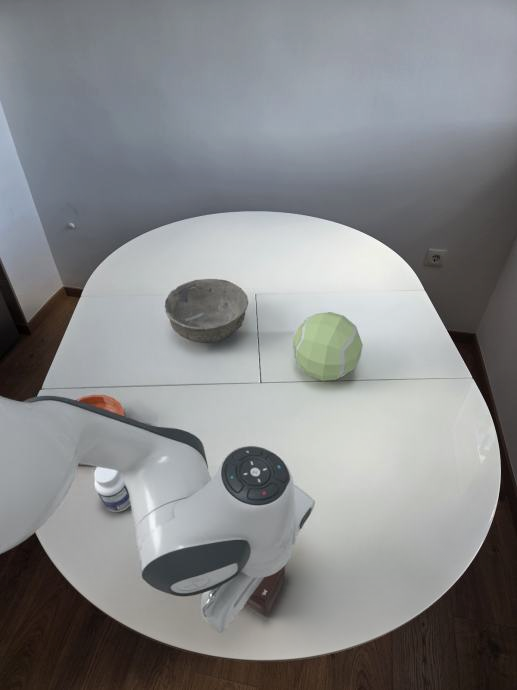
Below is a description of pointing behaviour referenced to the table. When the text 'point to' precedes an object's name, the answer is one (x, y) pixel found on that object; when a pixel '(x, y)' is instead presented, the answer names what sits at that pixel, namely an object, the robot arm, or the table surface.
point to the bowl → (206, 309)
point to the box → (267, 592)
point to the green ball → (327, 346)
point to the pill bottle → (111, 489)
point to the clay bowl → (103, 404)
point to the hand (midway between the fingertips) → (260, 574)
